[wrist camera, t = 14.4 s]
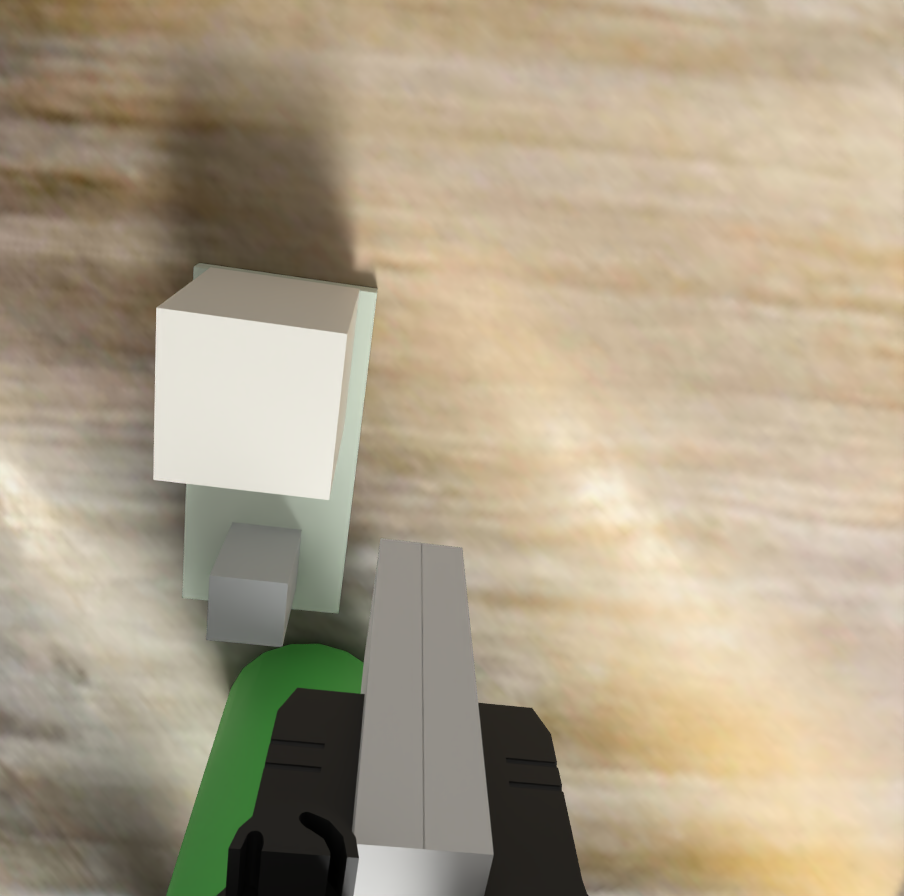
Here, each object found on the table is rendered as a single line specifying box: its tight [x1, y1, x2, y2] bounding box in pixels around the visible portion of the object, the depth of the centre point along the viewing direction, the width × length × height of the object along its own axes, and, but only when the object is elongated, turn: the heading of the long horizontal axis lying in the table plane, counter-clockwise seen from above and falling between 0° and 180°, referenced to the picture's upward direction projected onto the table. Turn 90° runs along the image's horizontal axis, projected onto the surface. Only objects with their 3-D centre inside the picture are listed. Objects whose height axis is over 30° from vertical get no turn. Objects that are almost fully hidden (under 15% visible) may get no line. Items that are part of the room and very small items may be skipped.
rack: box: [182, 263, 378, 647], centre depth 36 cm, size 8×17×6 cm, turn 171°
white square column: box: [153, 267, 360, 500], centre depth 32 cm, size 6×6×8 cm
